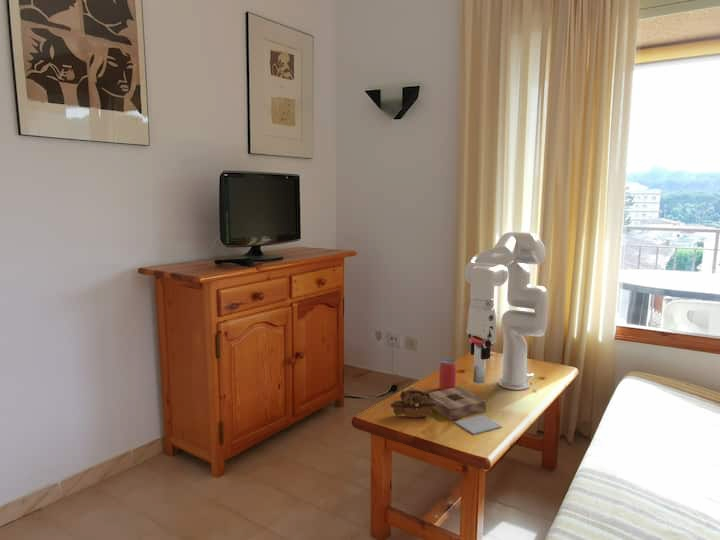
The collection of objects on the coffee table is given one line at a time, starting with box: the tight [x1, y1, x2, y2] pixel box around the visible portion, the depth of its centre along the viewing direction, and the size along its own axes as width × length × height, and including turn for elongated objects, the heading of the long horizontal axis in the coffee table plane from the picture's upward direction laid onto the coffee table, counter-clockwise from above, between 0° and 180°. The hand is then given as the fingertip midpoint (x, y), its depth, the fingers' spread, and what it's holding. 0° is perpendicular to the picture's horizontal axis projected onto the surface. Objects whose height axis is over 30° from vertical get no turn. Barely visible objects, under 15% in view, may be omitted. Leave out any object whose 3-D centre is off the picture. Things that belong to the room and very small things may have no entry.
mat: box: [454, 414, 503, 436], centre depth 177 cm, size 12×10×1 cm
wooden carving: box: [390, 387, 437, 419], centre depth 184 cm, size 16×5×10 cm, turn 95°
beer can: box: [438, 358, 457, 391], centre depth 209 cm, size 7×7×12 cm
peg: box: [469, 336, 489, 384], centre depth 174 cm, size 7×7×15 cm
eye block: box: [428, 386, 487, 421], centre depth 192 cm, size 16×16×4 cm
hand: (480, 356), depth 174 cm, fingers closed on peg, 4 cm apart
